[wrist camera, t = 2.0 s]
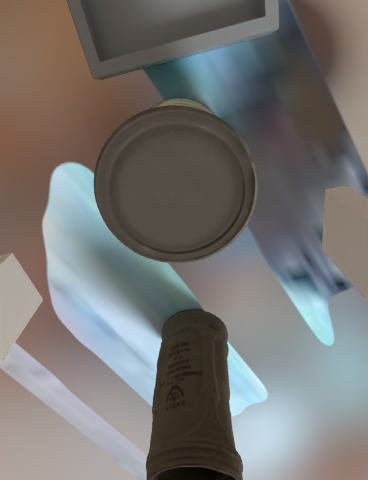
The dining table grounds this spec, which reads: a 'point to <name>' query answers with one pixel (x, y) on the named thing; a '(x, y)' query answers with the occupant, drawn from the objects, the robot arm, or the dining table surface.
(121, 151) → the coffee can
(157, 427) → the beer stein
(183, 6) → the holder tray
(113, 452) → the dining table surface
